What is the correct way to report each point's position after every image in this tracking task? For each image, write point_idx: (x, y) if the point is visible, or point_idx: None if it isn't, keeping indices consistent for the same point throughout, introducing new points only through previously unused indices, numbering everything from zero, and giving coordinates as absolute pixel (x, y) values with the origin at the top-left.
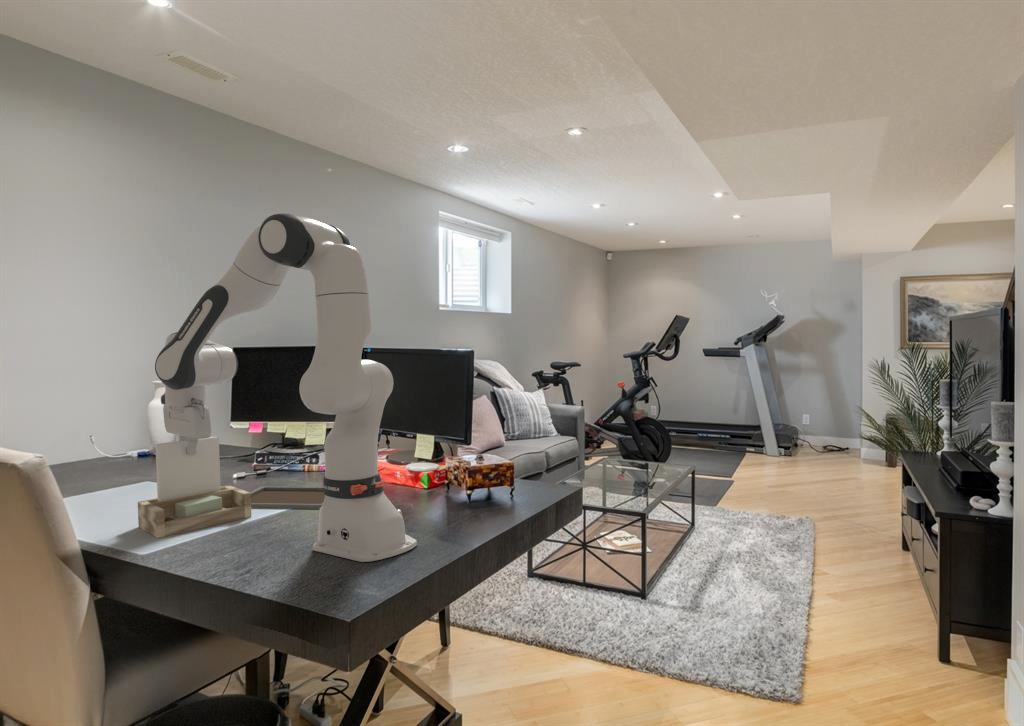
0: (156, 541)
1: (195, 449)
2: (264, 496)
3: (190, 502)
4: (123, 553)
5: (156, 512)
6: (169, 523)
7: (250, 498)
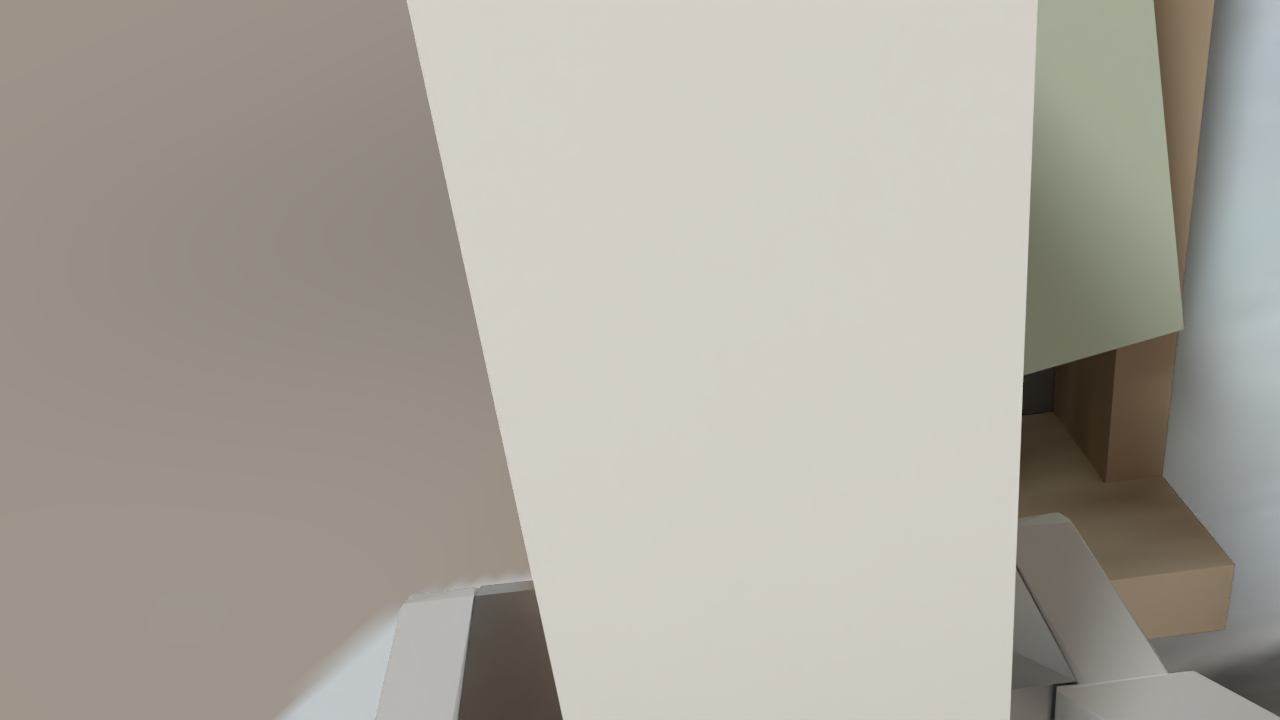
0: (1188, 479)
1: (1124, 615)
2: None
3: (1031, 241)
4: (1276, 680)
5: (1220, 621)
6: (1161, 430)
7: None
